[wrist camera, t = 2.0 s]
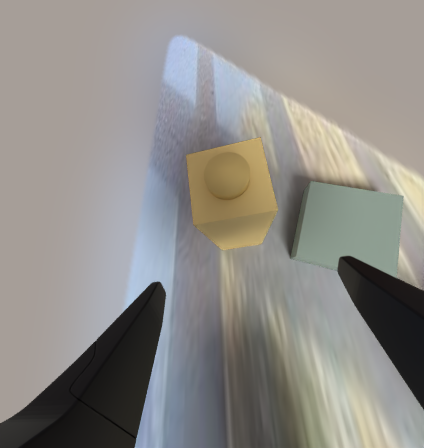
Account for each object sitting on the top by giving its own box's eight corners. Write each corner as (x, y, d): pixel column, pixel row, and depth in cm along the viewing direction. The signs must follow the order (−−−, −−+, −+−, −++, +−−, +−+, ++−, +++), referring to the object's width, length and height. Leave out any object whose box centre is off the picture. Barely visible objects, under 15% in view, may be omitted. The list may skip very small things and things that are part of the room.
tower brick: (261, 244, 21) (280, 204, 9) (222, 250, 21) (189, 221, 9) (253, 207, 22) (261, 126, 10) (216, 213, 23) (181, 146, 11)
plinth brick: (376, 281, 18) (395, 282, 16) (290, 258, 20) (296, 256, 17) (384, 205, 19) (403, 195, 17) (303, 191, 21) (310, 181, 19)
